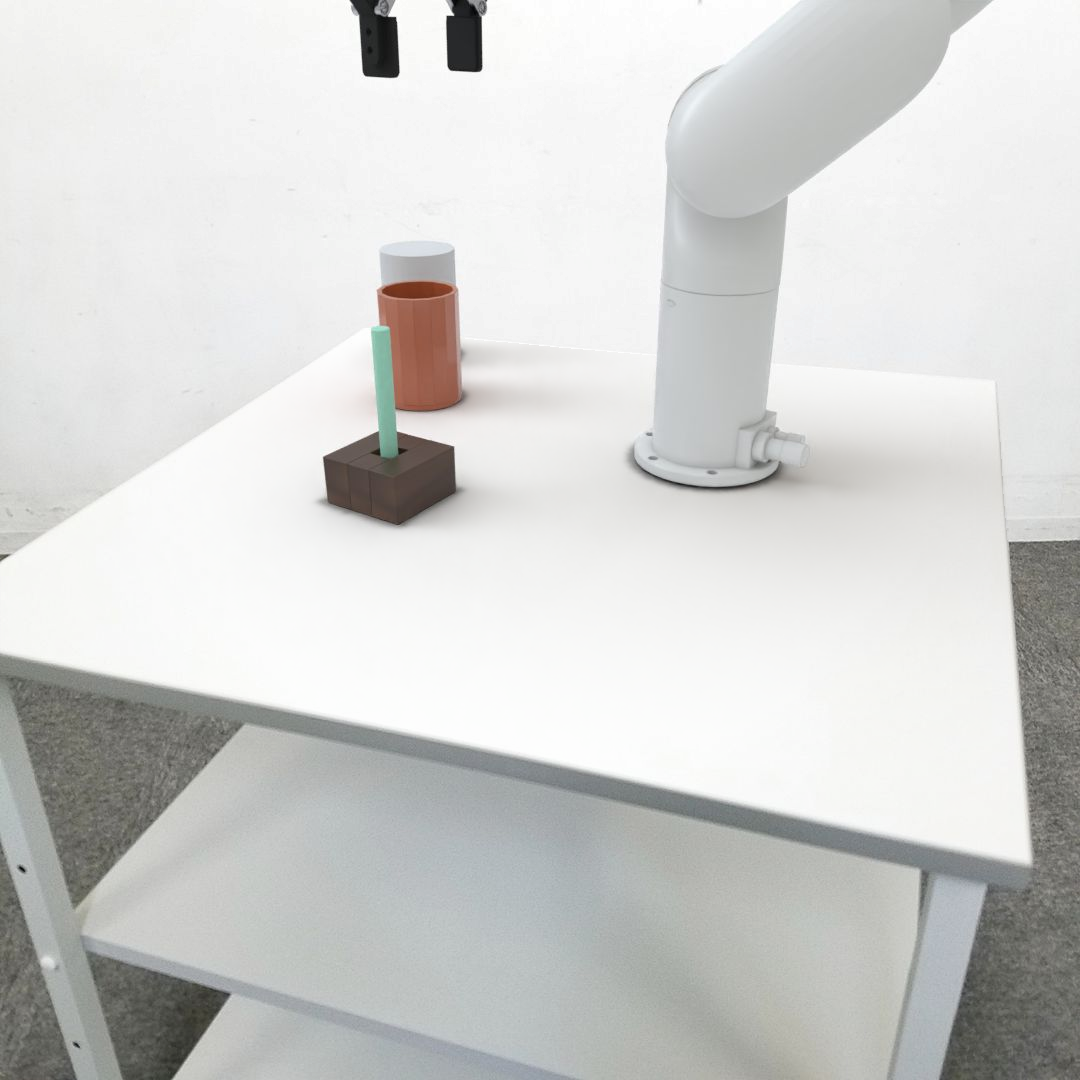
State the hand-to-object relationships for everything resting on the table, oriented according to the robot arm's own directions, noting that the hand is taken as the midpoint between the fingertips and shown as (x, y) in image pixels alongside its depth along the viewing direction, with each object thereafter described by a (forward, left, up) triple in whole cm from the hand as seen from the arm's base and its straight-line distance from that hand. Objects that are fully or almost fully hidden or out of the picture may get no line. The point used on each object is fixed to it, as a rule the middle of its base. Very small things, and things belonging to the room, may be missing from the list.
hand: (424, 74), depth 80 cm
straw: (-3, +11, -31) cm, 33 cm away
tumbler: (+10, -9, -31) cm, 34 cm away
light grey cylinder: (+19, -20, -31) cm, 41 cm away
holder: (-3, +11, -31) cm, 33 cm away
